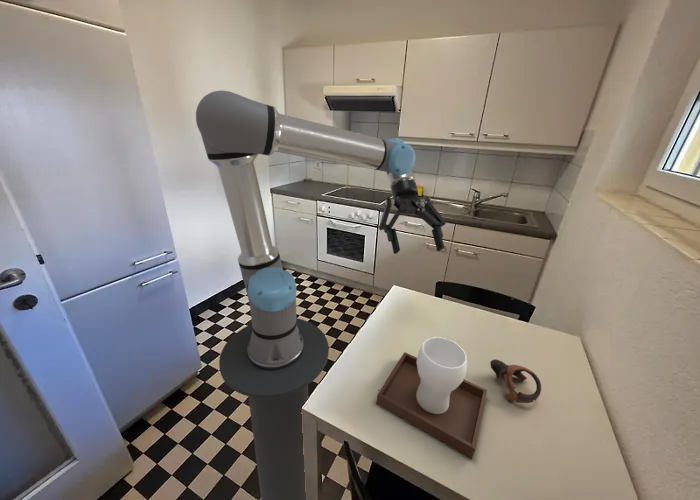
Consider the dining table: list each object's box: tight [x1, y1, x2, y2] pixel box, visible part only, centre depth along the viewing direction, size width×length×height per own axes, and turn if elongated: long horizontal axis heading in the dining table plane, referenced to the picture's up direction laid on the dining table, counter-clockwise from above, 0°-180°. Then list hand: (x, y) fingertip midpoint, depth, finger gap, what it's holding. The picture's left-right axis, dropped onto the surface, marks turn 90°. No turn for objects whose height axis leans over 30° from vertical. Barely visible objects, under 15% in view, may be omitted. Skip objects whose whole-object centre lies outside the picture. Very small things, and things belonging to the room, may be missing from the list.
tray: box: [375, 351, 488, 460], centre depth 67 cm, size 22×17×3 cm
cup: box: [416, 336, 468, 414], centre depth 64 cm, size 11×11×15 cm
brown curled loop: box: [490, 358, 542, 404], centre depth 71 cm, size 12×10×8 cm
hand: (419, 250), depth 77 cm, fingers open, 13 cm apart
